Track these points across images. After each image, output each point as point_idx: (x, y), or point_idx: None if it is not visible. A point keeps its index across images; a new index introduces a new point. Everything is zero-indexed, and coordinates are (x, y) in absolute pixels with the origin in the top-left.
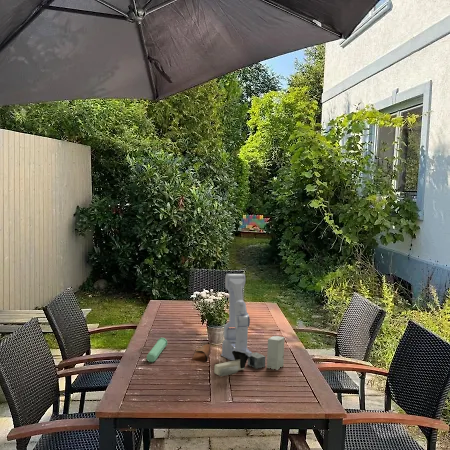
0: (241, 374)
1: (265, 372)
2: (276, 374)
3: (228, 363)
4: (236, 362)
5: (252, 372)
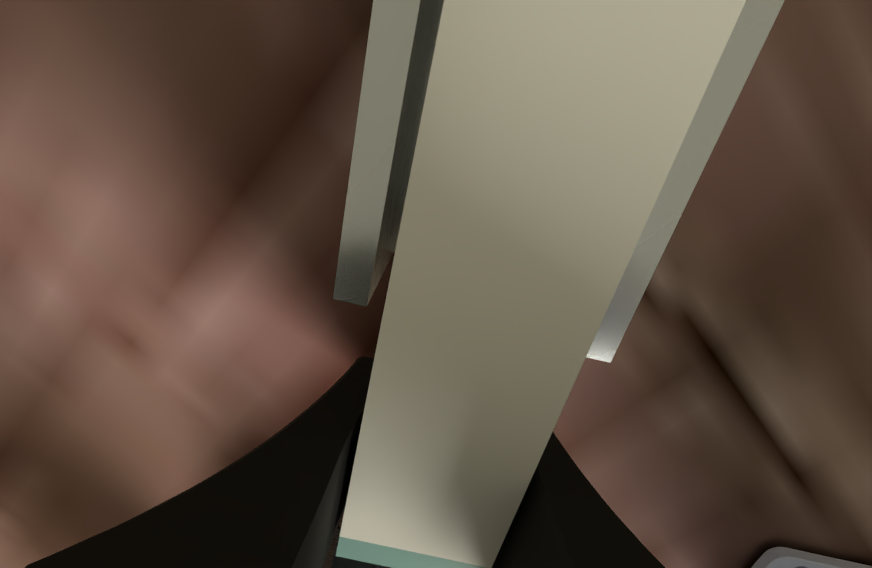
0: (267, 217)
1: (142, 499)
2: (27, 524)
3: (537, 36)
4: (389, 342)
5: (233, 402)
